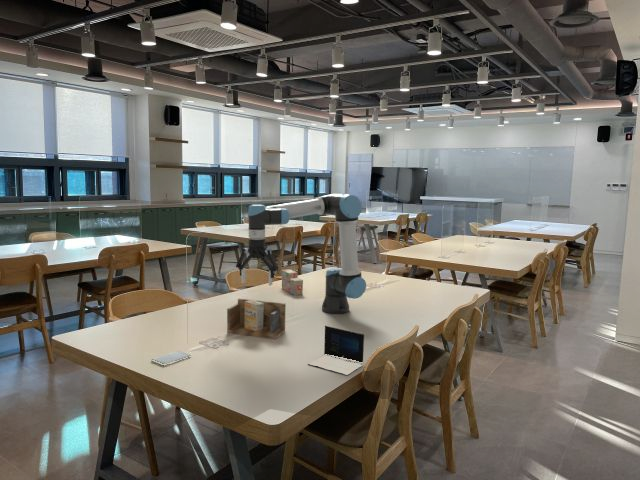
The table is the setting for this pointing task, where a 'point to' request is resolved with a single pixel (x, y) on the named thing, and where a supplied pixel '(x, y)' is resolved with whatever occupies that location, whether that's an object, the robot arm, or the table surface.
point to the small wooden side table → (271, 319)
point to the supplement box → (253, 315)
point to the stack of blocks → (292, 282)
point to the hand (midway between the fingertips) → (256, 283)
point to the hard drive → (171, 357)
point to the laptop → (344, 343)
